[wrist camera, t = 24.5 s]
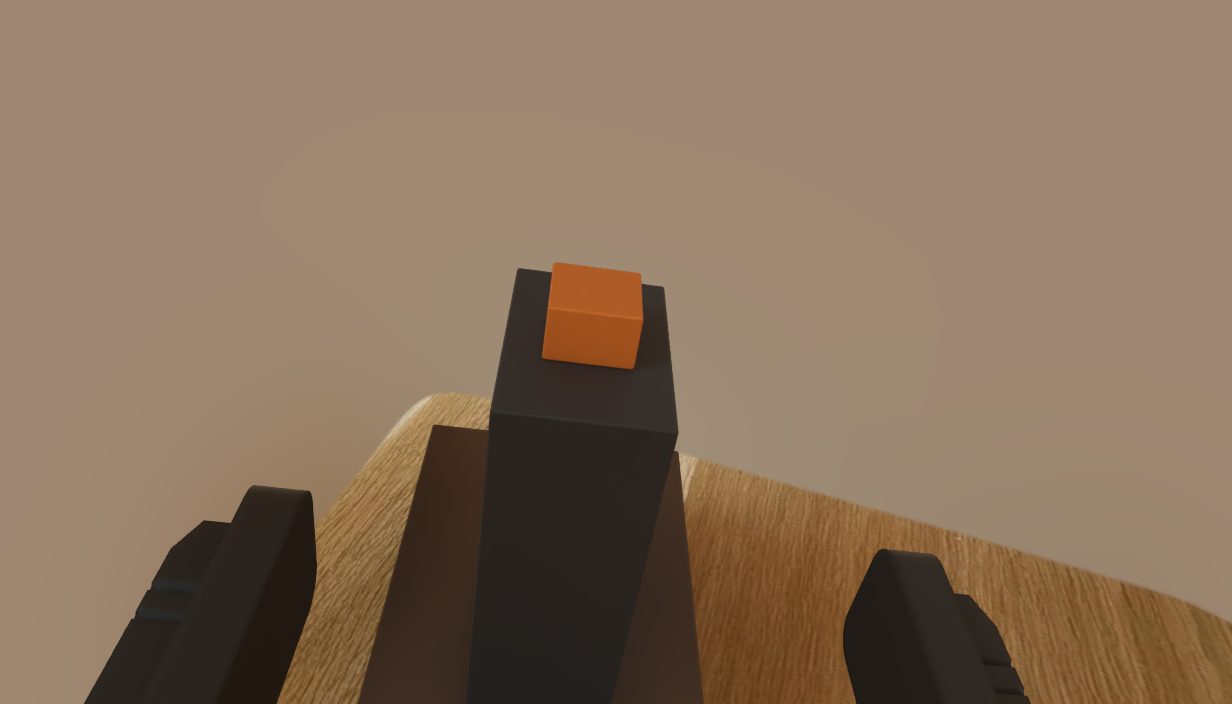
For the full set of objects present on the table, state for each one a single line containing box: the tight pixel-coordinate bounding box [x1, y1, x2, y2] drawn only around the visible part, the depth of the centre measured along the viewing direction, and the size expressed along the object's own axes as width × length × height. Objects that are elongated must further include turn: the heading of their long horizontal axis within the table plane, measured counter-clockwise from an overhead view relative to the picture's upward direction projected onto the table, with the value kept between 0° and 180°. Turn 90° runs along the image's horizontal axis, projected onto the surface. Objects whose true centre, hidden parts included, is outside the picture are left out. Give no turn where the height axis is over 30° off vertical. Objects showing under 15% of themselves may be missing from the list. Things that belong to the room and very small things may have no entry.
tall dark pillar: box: [465, 262, 678, 704], centre depth 26 cm, size 4×7×14 cm, turn 0°
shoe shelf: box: [357, 425, 703, 704], centre depth 32 cm, size 11×20×6 cm, turn 0°
